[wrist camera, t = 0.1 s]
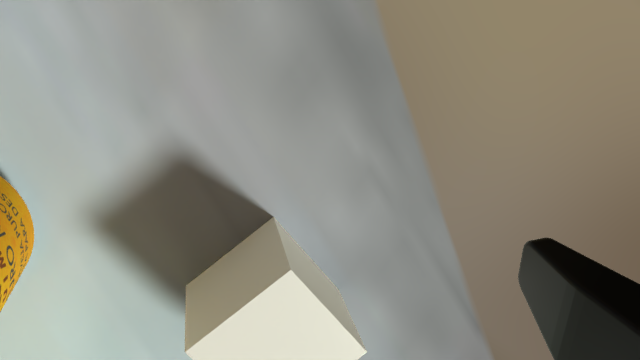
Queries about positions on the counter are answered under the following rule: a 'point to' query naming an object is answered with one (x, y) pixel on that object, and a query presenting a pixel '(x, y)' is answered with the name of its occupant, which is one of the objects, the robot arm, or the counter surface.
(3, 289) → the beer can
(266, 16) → the counter surface
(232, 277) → the cream plastic block
